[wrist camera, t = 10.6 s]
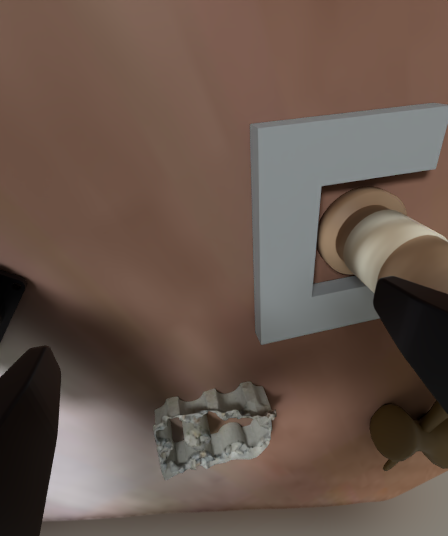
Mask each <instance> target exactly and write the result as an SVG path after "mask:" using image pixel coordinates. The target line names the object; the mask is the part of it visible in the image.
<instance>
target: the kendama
mask: <svg viewBox="0 0 448 536" xmlns="http://www.w3.org/2000/svg"><path fill="white" fill-rule="evenodd" d="M370 433H371V438H372V440H373V442H374V444H375V446H376V448H377V449H378V450H379V451H380V453H381V454H382V455H383V456H384V457H386V458H388V461H387V462H386V463H385V465H384V467H383V469H384V471H388V470H389V469H391V468H392V467H393V466H395V465H396V464H397V463H398V462H399V461H404V460H406V459H407V458H409V457H410V456H412V455H413V454H414V453H415V452H417V451H422V452H423V454H424V455H425V456H426V457H427V458H428V459H429V460H430V461H431V462H432V463H433V464H435V465H437V466H439V467H441V468H443V469H444V468H448V415H447V413H446V412H445V411H444V409H443V408H442V407H441V405H440V404H439V403H438V401H437V400H436V402H435V403H434V405H433V406H432V408H431V409H430V410H429V412H428V413H427V414H426V415H424V416H423V417H422V418H420V420H419V421H416V420H412V418H411V417H410V416H409V415H408V414H407V413H406V412H405V411H404V410H403V409H402V408H401V407H398V406H396V405H393V404H388V405H383V406H381V407H380V408H379V409H378V410H377V411H376V412H375V414H374V415H373V416H372V418H371V422H370Z"/></svg>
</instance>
